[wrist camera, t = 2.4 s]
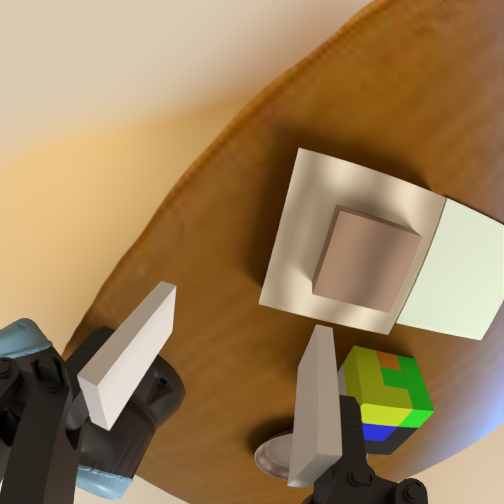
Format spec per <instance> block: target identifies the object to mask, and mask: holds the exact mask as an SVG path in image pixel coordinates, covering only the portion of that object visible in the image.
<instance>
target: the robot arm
mask: <svg viewBox="0 0 504 504" xmlns="http://www.w3.org/2000/svg"><path fill="white" fill-rule="evenodd" d="M175 294H176V285H173V284H169V283H166V282H163V281H161V282H160V283H159V284H158V285H157V286H156V287H155V288H154V289H153V290H152V292H151V293H150V294H149V295H148V296H147V297H146V298H145V299H144V300H143V301H142V302H141V303H140V304H139V306H138V307H137V308H136V309H135V310H134V311H133V312H132V313H131V314H130V315H129V317H128V318H127V319H126V320H125V321H124V322H123V323H122V324H121V325H120V327H119V328H118V329H117V330H116V331H115V330H113V329H110V328H108V327H106V326H104V327H102V328H100V329H97V330H95V331H94V332H93V333H92V334H91V335H90V336H89V337H88V338H87V339H86V341H84V342H83V343H82V344H81V346H80V347H78V348H77V349H76V350H75V351H74V353H73V354H72V355H71V356H70V357H69V358H68V359H67V360H66V361H64V360H63V359H62V357H61V356H60V355H59V354H58V352H57V351H56V350H55V348H54V347H53V346H52V345H53V344H52V342H51V341H49V340H48V339H47V338H46V336H45V335H44V334H43V333H42V331H41V330H40V329H39V327H38V326H37V325H36V323H35V322H33V321H32V320H30V319H28V318H22V319H19V320H17V321H15V322H13V323H12V324H10V325H8V326H6V327H5V328H3V329H1V330H0V483H1V481H2V479H3V482H2V487H1V492H0V504H73V502H74V493H75V486H77V487H79V488H81V489H83V490H85V491H87V492H90V493H92V494H94V495H97V496H99V497H103V498H106V499H110V500H116V499H119V498H121V497H122V496H123V495H124V493H125V491H126V490H127V488H128V487H129V485H130V483H131V482H133V477H134V475H135V473H136V471H137V469H138V467H139V464H140V462H141V460H142V458H143V456H144V454H145V452H146V450H147V448H148V446H149V444H150V442H151V440H152V437H153V435H154V433H155V431H156V430H157V429H158V428H159V427H160V426H161V425H162V424H163V423H164V422H165V421H167V420H168V419H169V418H170V417H171V416H172V415H173V414H174V413H175V412H176V411H177V410H178V409H179V407H180V405H181V403H182V401H183V399H184V395H185V390H184V386H183V383H182V381H181V379H180V377H179V376H178V375H177V373H176V372H175V371H174V370H173V368H172V367H171V366H170V365H169V364H167V363H166V362H165V361H164V360H163V359H161V358H160V357H159V356H157V354H158V353H159V351H160V350H161V348H162V346H163V345H164V343H165V342H166V340H167V339H168V337H169V336H170V334H171V333H172V328H173V316H174V305H175ZM361 419H362V415H361V407H360V406H359V404H358V402H357V400H356V399H355V397H352V396H345V395H339V390H338V378H337V367H336V357H335V347H334V338H333V330H332V328H331V327H326V326H322V325H318V324H316V326H315V329H314V331H313V334H312V336H311V338H310V341H309V343H308V345H307V348H306V350H305V352H304V355H303V357H302V359H301V361H300V364H299V366H298V375H297V391H296V404H295V417H294V429H293V440H292V450H291V460H290V469H289V478H288V486H293V487H302V488H309V487H310V486H311V485H312V484H313V483H314V493H312V494H311V495H310V496H309V497H307V498H306V499H305V500H304V501H303V502H302V503H301V504H428V498H427V491H426V487H425V486H424V484H423V483H422V482H420V481H419V480H417V479H413V478H408V479H404V480H403V481H401V482H400V483H396V482H392V481H389V480H386V479H383V478H380V477H378V476H376V475H375V472H374V470H373V469H372V468H371V467H370V466H369V465H367V460H366V451H365V441H364V431H363V429H362V428H363V423H362V420H361ZM3 477H4V478H3Z"/></svg>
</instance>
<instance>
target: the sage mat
mask: <svg viewBox="0 0 504 504" xmlns="http://www.w3.org/2000/svg"><path fill="white" fill-rule="evenodd" d="M503 300H504V225H502V224H500V223H499V222H497V221H495V220H493V219H491V218H489V217H487V216H485V215H483V214H481V213H479V212H477V211H474V210H472V209H470V208H468V207H466V206H464V205H462V204H459V203H457V202H455V201H453V200H450V199H448V198H446V199H445V202H444V205H443V209H442V212H441V215H440V218H439V220H438V223H437V226H436V229H435V232H434V234H433V237H432V240H431V242H430V245H429V248H428V250H427V253H426V255H425V258H424V260H423V263H422V265H421V267H420V270H419V272H418V274H417V277H416V279H415V281H414V283H413V286H412V288H411V290H410V292H409V294H408V296H407V299H406V301H405V303H404V305H403V307H402V309H401V311H400V313H399V315H398V317H397V319H396V321H395V322H396V323H399V324H403V325H408V326H412V327H417V328H422V329H426V330H431V331H436V332H441V333H446V334H451V335H456V336H461V337H466V338H471V339H476V340H481V339H482V337H483V336H484V334H485V332H486V331H487V329H488V327H489V326H490V324H491V322H492V320H493V319H494V317H495V315H496V313H497V311H498V309H499V307H500V305H501V304H502V302H503Z"/></svg>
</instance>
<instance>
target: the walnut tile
mask: <svg viewBox="0 0 504 504" xmlns="http://www.w3.org/2000/svg"><path fill="white" fill-rule="evenodd" d="M421 238H422V236H420V235H419V234H418V233H417V232H416V231H415V230H414V229H412V228H409V227H406V226H403V225H400V224H397V223H394V222H391V221H388V220H385V219H382V218H379V217H376V216H373V215H370V214H367V213H363V212H360V211H357V210H354V209H350V208H347V207H344V206H340V205H337V204H336V207H335V211H334V214H333V217H332V221H331V224H330V227H329V231H328V234H327V237H326V240H325V243H324V246H323V249H322V253H321V256H320V259H319V262H318V265H317V268H316V271H315V274H314V277H313V280H312V294H313V295H317V296H321V297H325V298H329V299H333V300H337V301H341V302H345V303H349V304H353V305H357V306H361V307H365V308H370V309H374V310H378V311H382V312H386V313H390V310H391V308H392V306H393V304H394V302H395V300H396V298H397V296H398V294H399V291H400V289H401V287H402V285H403V283H404V280H405V278H406V276H407V273H408V271H409V269H410V266H411V264H412V261H413V259H414V256H415V254H416V251H417V249H418V246H419V244H420V241H421Z"/></svg>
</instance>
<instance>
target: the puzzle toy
mask: <svg viewBox="0 0 504 504" xmlns="http://www.w3.org/2000/svg"><path fill="white" fill-rule="evenodd" d="M337 378H338V390H339V395H345V396H352V397H355V399H356V400H357V402H358V404H359V406H360V407H361V415H362V419H361V420H362V423H363V428H362V429H363V431H364V441H365V451H366V454H382V455H390V454H391V453H393V452H394V451H395V450H396V449H397V448H398V447H399V446H400V445H401V444H402V443H403V442H405V441H406V440H407V439H408V438H409V437H410V436H411V435H412V434H413V433H414V432H415V431H416V430H417V429H418V428H419V427H420V426H421V425H422V424H423V423H424V422H425V421H426V419H427V418H428V417H429V416H430V415H431V414H432V413H433V412H434V409H433V406H432V403H431V400H430V397H429V394H428V392H427V389H426V386H425V383H424V381H423V378H422V375H421V373H420V370H419V368H418V365H417V363H416V360H415V359H414V358H409V357H404V356H400V355H395V354H390V353H385V352H381V351H376V350H372V349H367V348H363V347H359V346H355V345H353V347H352V349H351V351H350V352H349V354H348V356H347V358H346V359H345V361H344V363H343V364H342V366H341V368H340V369H339V371H338V373H337Z"/></svg>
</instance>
